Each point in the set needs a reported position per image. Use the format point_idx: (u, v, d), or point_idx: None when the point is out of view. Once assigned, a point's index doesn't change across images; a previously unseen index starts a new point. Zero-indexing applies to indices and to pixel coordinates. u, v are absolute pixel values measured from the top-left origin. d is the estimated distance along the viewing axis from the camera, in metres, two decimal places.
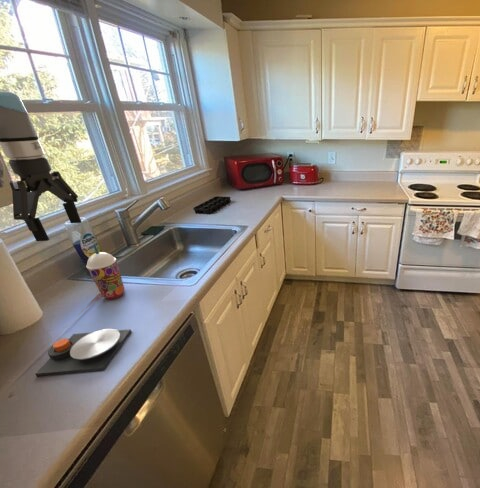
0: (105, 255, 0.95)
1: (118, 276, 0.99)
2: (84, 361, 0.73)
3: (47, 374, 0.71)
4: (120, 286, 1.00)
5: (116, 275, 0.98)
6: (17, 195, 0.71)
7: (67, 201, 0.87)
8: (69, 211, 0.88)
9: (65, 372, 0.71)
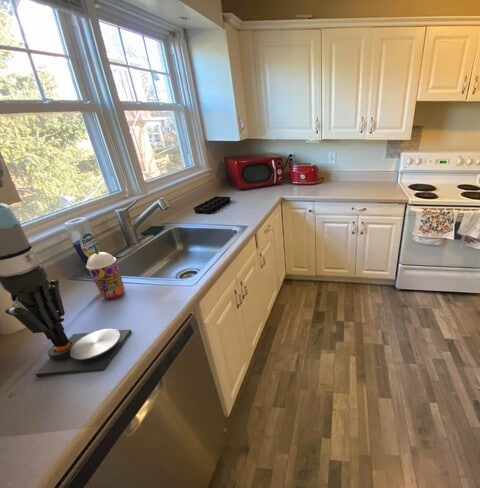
0: (105, 255, 0.95)
1: (118, 276, 0.99)
2: (84, 361, 0.73)
3: (47, 374, 0.71)
4: (120, 286, 1.00)
5: (116, 275, 0.98)
6: (22, 318, 0.65)
7: (52, 322, 0.73)
8: None
9: (65, 372, 0.71)
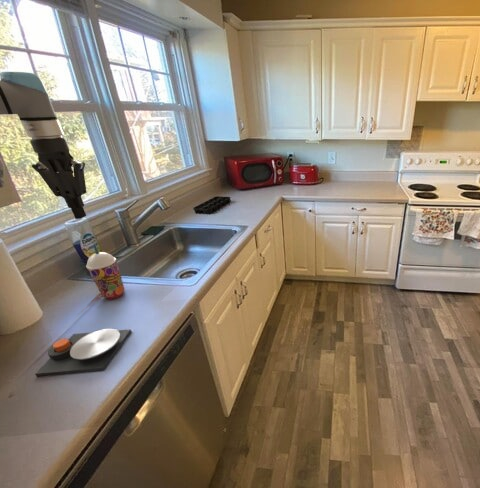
0: (105, 255, 0.95)
1: (118, 276, 0.99)
2: (84, 361, 0.73)
3: (47, 374, 0.71)
4: (120, 286, 1.00)
5: (116, 275, 0.98)
6: None
7: None
8: None
9: (65, 372, 0.71)
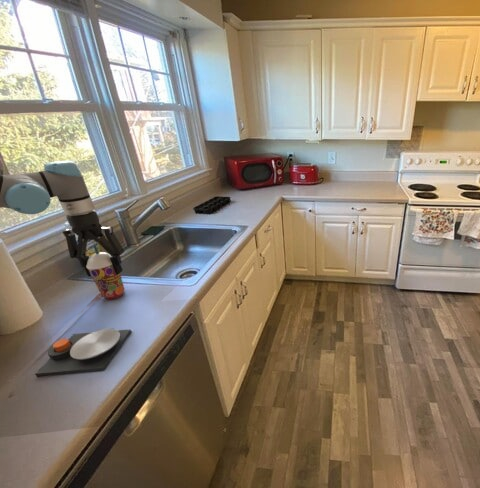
0: (105, 255, 0.95)
1: (118, 276, 0.99)
2: (84, 361, 0.73)
3: (47, 374, 0.71)
4: (120, 286, 1.00)
5: (116, 275, 0.98)
6: None
7: None
8: None
9: (65, 372, 0.71)
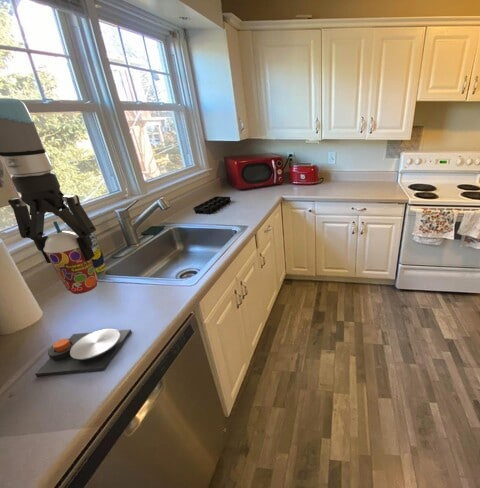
0: (70, 234, 0.71)
1: (88, 263, 0.75)
2: (84, 361, 0.73)
3: (47, 374, 0.71)
4: (91, 276, 0.76)
5: (85, 261, 0.74)
6: None
7: None
8: None
9: (65, 372, 0.71)
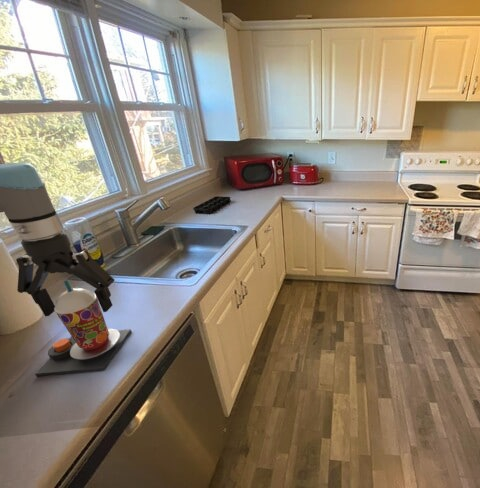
0: (81, 293, 0.69)
1: (100, 319, 0.73)
2: (84, 361, 0.73)
3: (47, 374, 0.71)
4: (103, 332, 0.75)
5: (96, 318, 0.72)
6: None
7: None
8: None
9: (65, 372, 0.71)
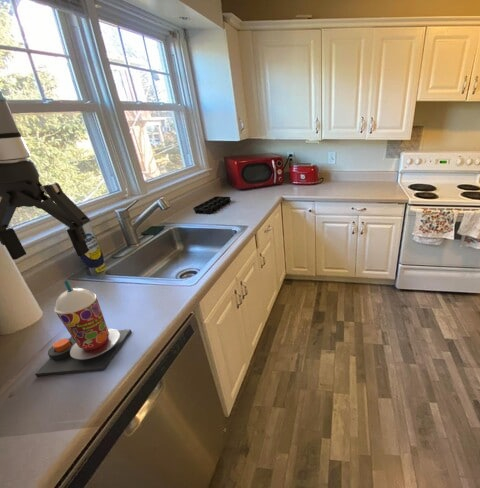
0: (81, 293, 0.69)
1: (100, 319, 0.73)
2: (84, 361, 0.73)
3: (47, 374, 0.71)
4: (103, 332, 0.75)
5: (96, 318, 0.72)
6: None
7: None
8: None
9: (65, 372, 0.71)
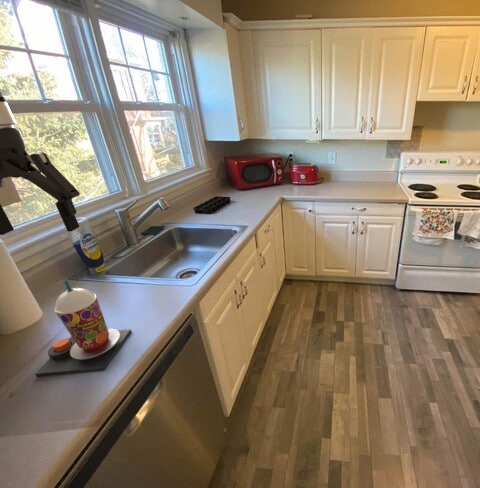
0: (81, 293, 0.69)
1: (100, 319, 0.73)
2: (84, 361, 0.73)
3: (47, 374, 0.71)
4: (103, 332, 0.75)
5: (96, 318, 0.72)
6: None
7: None
8: None
9: (65, 372, 0.71)
